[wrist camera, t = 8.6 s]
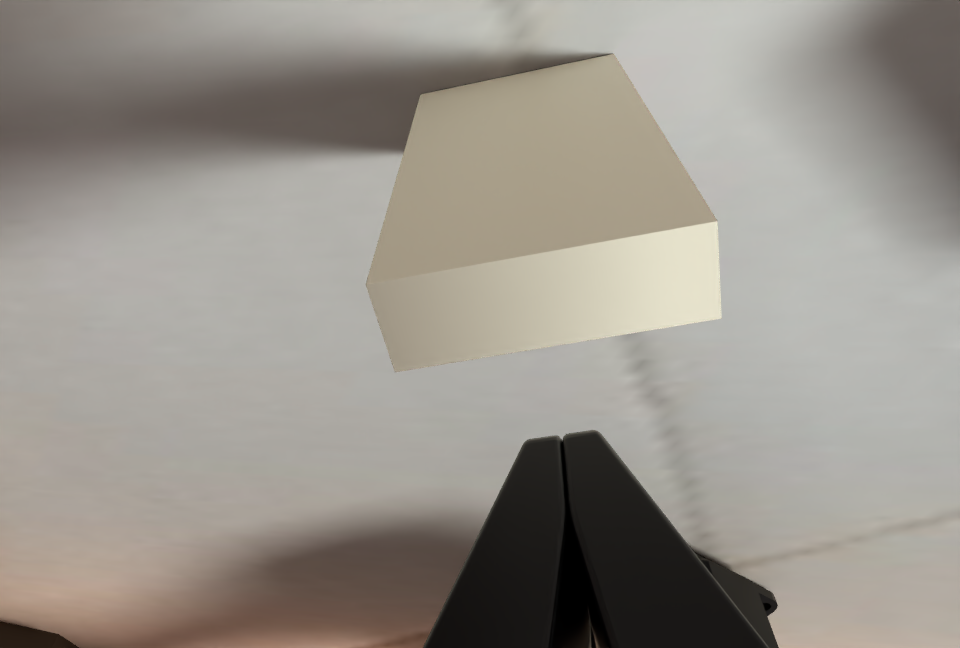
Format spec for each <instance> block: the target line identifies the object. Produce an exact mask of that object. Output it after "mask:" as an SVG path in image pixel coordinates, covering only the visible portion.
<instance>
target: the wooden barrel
mask: <svg viewBox="0 0 960 648" xmlns="http://www.w3.org/2000/svg"><path fill="white" fill-rule="evenodd" d="M0 648H79V647H77V646H76V645H74V644H73V643H71V642H70V641H68V640H67V639H65V638H64V637H62V636H61V635H59V634H55V633H50V632H46V631H41V630H37V629H32V628H28V627H23V626H19V625H14V624H10V623H5V622H0Z"/></svg>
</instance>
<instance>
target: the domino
mask: <svg viewBox="0 0 960 648" xmlns="http://www.w3.org/2000/svg"><path fill="white" fill-rule="evenodd" d="M366 287H367V290H368V293H369V296H370V299H371V302H372V305H373V308H374V311H375V314H376V317H377V320H378V323H379V326H380V329H381V332H382V335H383V338H384V341H385V344H386V347H387V350H388V353H389V356H390V359H391V362H392V365H393V368H394V371H395V372H400V371H406V370H412V369H418V368H424V367H430V366H436V365H442V364H448V363H454V362H460V361H467V360H473V359H479V358H485V357H491V356H497V355H503V354H509V353H515V352H521V351H527V350H533V349H539V348H545V347H551V346H558V345H564V344H570V343H576V342H582V341H588V340H594V339H600V338H606V337H612V336H618V335H624V334H630V333H636V332H642V331H649V330H655V329H661V328H667V327H673V326H679V325H685V324H691V323H697V322H703V321H709V320H715V319H721V297H720V272H719V247H718V223H717V220H716V218H715V216H714V215H713V213H712V212H711V210H710V208H709V207H708V205H707V203H706V202H705V200H704V199H703V197H702V195H701V194H700V192H699V191H698V189H697V187H696V186H695V184H694V182H693V181H692V179H691V178H690V176H689V174H688V173H687V171H686V170H685V168H684V166H683V165H682V163H681V161H680V160H679V158H678V157H677V155H676V153H675V152H674V150H673V149H672V147H671V145H670V144H669V142H668V140H667V139H666V137H665V136H664V134H663V132H662V131H661V129H660V128H659V126H658V124H657V123H656V121H655V119H654V118H653V116H652V115H651V113H650V111H649V110H648V108H647V107H646V105H645V103H644V102H643V100H642V98H641V97H640V95H639V94H638V92H637V90H636V89H635V87H634V86H633V84H632V82H631V81H630V79H629V77H628V76H627V74H626V73H625V71H624V69H623V68H622V66H621V65H620V63H619V61H618V60H617V58H616V56H615V55H614V54H610V55H606V56H601V57H596V58H591V59H587V60H582V61H577V62H572V63H568V64H563V65H558V66H553V67H549V68H544V69H539V70H534V71H530V72H525V73H520V74H515V75H511V76H506V77H501V78H496V79H492V80H487V81H482V82H477V83H473V84H468V85H463V86H458V87H454V88H449V89H444V90H439V91H435V92H430V93H425V94H421V95H420V98H419V102H418V105H417V109H416V112H415V116H414V119H413V122H412V126H411V129H410V133H409V136H408V140H407V143H406V147H405V150H404V154H403V157H402V161H401V164H400V168H399V171H398V174H397V178H396V181H395V185H394V188H393V192H392V195H391V199H390V202H389V206H388V209H387V213H386V216H385V220H384V223H383V226H382V230H381V233H380V237H379V240H378V244H377V247H376V251H375V254H374V258H373V261H372V265H371V268H370V272H369V275H368V278H367V282H366Z"/></svg>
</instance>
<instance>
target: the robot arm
mask: <svg viewBox="0 0 960 648" xmlns="http://www.w3.org/2000/svg"><path fill="white" fill-rule="evenodd" d="M777 606H778V605H777V602H776V600H775V597H774V594H773V593H772V592H770V591H768V590H766V589H764V588H762V587H760V586H758V585H756V584H755V583H753V582H751V581H750V580H748V579H746V578H744V577H742V576H740V575H738V574H736V573H734V572H732V571H730V570H728V569H726V568H724V567H722V566H720V565H718V564H716V563H714V562H712V561H710V560H707V559H705V558H703V557H701V556H699V555H697V554H695V553H694V552H693V550H692V549H691V548H690V546H689V545H688V544H687V543H686V541H685V540H684V539H683V537H682V536H681V535H680V534H679V532H678V531H677V530H676V529H675V527H674V526H673V525H672V523H671V522H670V521H669V520H668V518H667V517H666V516H665V515H664V513H663V512H662V511H661V509H660V508H659V507H658V506H657V504H656V503H655V502H654V501H653V499H652V498H651V497H650V495H649V494H648V493H647V492H646V490H645V489H644V488H643V487H642V485H641V484H640V483H639V481H638V480H637V479H636V478H635V476H634V475H633V474H632V473H631V471H630V470H629V469H628V467H627V466H626V465H625V464H624V462H623V461H622V460H621V458H620V457H619V456H618V455H617V453H616V452H615V451H614V450H613V448H612V447H611V446H610V444H609V443H608V442H607V441H606V439H605V438H604V437H603V436H602V434H601V433H599V432H598V431H596V430H590V431H583V432H576V433H569V434H566V435H565V436H564V437H563V442H562V439H561V438H560V437H559V436H548V437H541V438H534V439H529V440H527V441H526V442H525V443H524V444H523V446H522V448H521V450H520V452H519V454H518V456H517V458H516V460H515V462H514V464H513V466H512V468H511V470H510V472H509V474H508V476H507V478H506V480H505V482H504V484H503V486H502V488H501V490H500V492H499V494H498V496H497V498H496V500H495V502H494V504H493V506H492V508H491V511H490V513H489V515H488V517H487V519H486V521H485V523H484V525H483V527H482V529H481V531H480V533H479V535H478V537H477V539H476V541H475V543H474V545H473V547H472V549H471V551H470V553H469V555H468V557H467V559H466V561H465V563H464V565H463V567H462V569H461V571H460V573H459V575H458V578H457V580H456V582H455V584H454V586H453V588H452V590H451V592H450V594H449V596H448V598H447V600H446V602H445V604H444V606H443V608H442V610H441V612H440V614H439V616H438V618H437V620H436V622H435V624H434V626H433V628H432V630H431V632H430V634H429V636H428V638H427V640H426V643H425V645H424V647H423V648H778V645H777V642H776V639H775V637H774V634H773V631H772V628H771V626H770V623H769V620H768V617H767V616H768V615H770V614H771V613H772V612H774V611H775V610H776V609H777Z"/></svg>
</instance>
